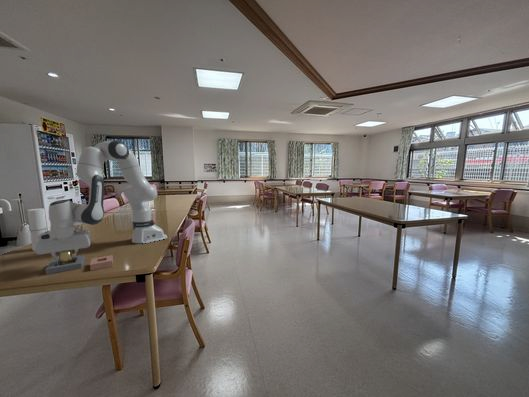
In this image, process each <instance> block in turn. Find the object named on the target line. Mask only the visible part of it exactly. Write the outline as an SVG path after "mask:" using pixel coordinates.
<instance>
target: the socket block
mask: <svg viewBox="0 0 529 397" xmlns="http://www.w3.org/2000/svg"><path fill="white" fill-rule="evenodd" d="M73 261H74V263H71V264H65V265H59V264H60V260H58V261H55V259H52V260H51V261H50V263H49V264H48V265H47V267H46V268H45V270H44V271H45V275H52V274H56V273H62V272H67V271H73V270H74V271H75V270H80V269H82V268H83V266H84V263H85V254H82V255H76V258H73Z"/></svg>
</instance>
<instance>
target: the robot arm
mask: <svg viewBox="0 0 529 397" xmlns="http://www.w3.org/2000/svg"><path fill="white" fill-rule="evenodd" d="M106 161H115V162H116V163H117V164H118V167H119V170H120V172H121V174H122V176H123V179H124V181H126V182H127V183H128V184H129V185H128V186H126V187H125V188H124V189H123V195H124V197H125V198H126V200H127V201H128V203H129V205H130V208H131V214H132V223H131V225H132V230H133V231H132V238H131V243H134V244H142V243H143V244H142V245H144V244H145V243H146V244H148V243H149V244H150V242H151V243H155V242H159V240H160V241H164V240H163V239H165V240H167V239H168V235H167V234H165V233H164V230H163V229H162V227H159V226H158V225H156V224H157V222H156V221H155V220H154V219H152V214H151V213H152V212H151V208H150V207H149V206H148V204H147V203H148V202H153V201H155V200H156V199H157V197H158V190H157V189H156V187H154V186H152V185H151V184H150V182H149V181H148V180H147V178H146V176H145V175H144V173H143V171H142V169H141V167H140V163H139V161H138V159H137V157H136V156H135V154H134V152H133V150H131V149H129V148H128V146H127V145H126V144H125V143H124V142H122V141H120V140H106V141H101V142H99V141H98V142H96V143H94V144H93V145H91V146H86V147H84V148H83V149H82V151H81V153H80V156H79V158H78V161H77V165H76V176H77V177H78V179H79V180H80V181H82V182H83V183H85V184H86V185H87V186H88V188H89V194H88V203H87V204H81V203H76V202H73V201H71V200H69V199H59V200H54V201H52V202H50V203H49V206H48V220H49V222H50V226H49V229H50V230H47V232H44V233H41V234H40V235H39V236H38V240H39V241H38V242H37V243H36V251H35V254H37V255H45V254H46V255H47V254H51V256H52V257H53V258H54V260H55V261H58V260H59V255H58V254H57V253H59V252H60V251H67V250H72V251H74V253H72V258H76V256H77V253H78V252H79V249H85V248H86V249H87V248H89V247H90V246H91V239H90V237H91V233H90V231H88V230H86V229H82V231H75V226H74V223H75V222H79V223H83V224H86V225H91V226H93V225H94V226H95V225H98V224H99V223H101V222H102V221H103V219H104V217H105V208H104V195H105V180H104V179H103V170H104V164H105V162H106ZM166 238H167V239H166ZM154 241H155V242H154ZM146 244H145V245H146Z"/></svg>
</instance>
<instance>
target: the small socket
mask: <svg viewBox="0 0 529 397" xmlns="http://www.w3.org/2000/svg"><path fill="white" fill-rule="evenodd" d="M110 267H111V268H112V267H114V256H113V254H111V255H105V256H99V257H93V258H91V259H90V264H89V269H90V271H95V270H101V269H106V268H110Z"/></svg>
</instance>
